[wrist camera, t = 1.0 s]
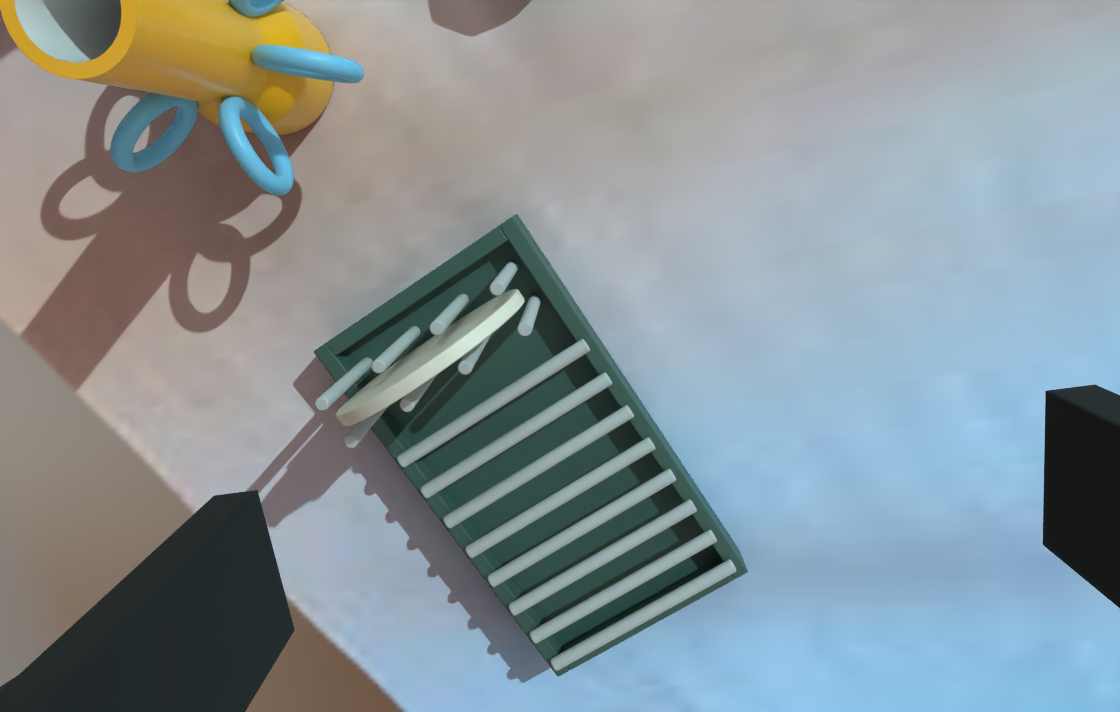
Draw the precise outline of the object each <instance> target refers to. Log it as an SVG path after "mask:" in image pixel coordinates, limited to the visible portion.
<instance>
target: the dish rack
mask: <svg viewBox="0 0 1120 712" xmlns="http://www.w3.org/2000/svg"><path fill="white" fill-rule="evenodd" d="M314 353H315V354H316V356H317V357H318V358H319V360H320V361H321V362H322V364H323V365H324V366H325V368H326V369H327V370H328V372H329V373H330V374H331V376H332V377H333V378H334V380H335V381H336V383H335V384H334V385H332V386H331V387H330V388H329V389H328V390H327V391H325V392H324V393H323V394H322V395H321V396H320V397H319V398H317V399H316V401H315V406H316V408H317V409H318V410H321V411H324V410H327V409H328V408H329V407H330V406H331V405H332V404H333V403H334V402H335V401H336V400H337V399H338V398H339V397H341V396H342V395H343V394H344V393H345V394H346V396H347V397H348V398H349V400H348V401H347V402H346V403H345V404H344V405H343V406H342V407H341V408H340V409H339V410H338V411H337V413H336V417H337V418H338V420H339V421H340V422H341V424H342V425H343V426H350V425H353V424H356V423H357V424H356V425H355V426H354V428H353V429H352V430H351V431H350V432H349V433H348V434H347V435H346V437H345V438H344V444H345V446H346V447H348V448H354V447H356V445H357V444H358V443H359V442H360V441H361V439H362V438H363V437H364V436H365V434H366V433H367V432H368V431H369V430H370V428H371V429H372V430H373V431H374V433H375V434H376V435H377V437H378V438H379V439H380V441H381V442H382V443H383V445H384V446H385V447H386V449H387V450H388V451H389V453H390V454H391V455H392V457H393V458H394V459H395V461H396V462H397V463H398V465H399V466H400V467H401V469H402V470H403V471H404V473H405V474H406V475H407V477H408V478H409V479H410V481H411V482H412V483H413V485H414V486H415V487H416V489H417V490H418V491H419V493H420V494H421V495H422V497H423V498H424V499H425V501H426V502H427V503H428V505H429V506H430V507H431V509H432V510H433V511H434V513H435V514H436V515H437V517H438V518H439V519H440V521H441V522H442V523H443V525H444V526H445V527H446V529H447V530H448V531H449V533H450V534H451V535H452V536H453V538H454V539H455V540H456V542H457V543H458V544H459V546H460V547H461V548H462V550H463V551H464V552H465V554H466V555H467V556H468V558H469V559H470V560H471V562H472V563H473V564H474V566H475V567H476V568H477V570H478V571H479V572H480V574H481V575H482V576H483V578H484V579H485V580H486V582H487V583H488V584H489V586H490V587H491V588H492V590H493V591H494V592H495V594H496V595H497V596H498V598H499V599H500V600H501V602H502V603H503V604H504V606H505V607H506V608H507V610H508V611H509V612H510V614H511V615H512V616H513V618H514V619H515V620H516V622H517V623H518V624H519V626H520V627H521V628H522V630H523V631H524V632H525V634H526V635H527V636H528V638H529V639H530V640H531V642H532V643H533V644H534V646H535V647H536V648H537V650H538V651H539V652H540V653H541V655H542V656H543V657H544V659H545V660H546V661H547V663H548V664H549V665H550V667H551V668H552V669H553V671H554V672H555V673H556V675H557V676H560V675H562V674H564V673H566V672H568V671H569V669H570V670H571V669H573V668H575V667H577V666H579V665H580V664H582V663H584V662H586V661H588V660H589V659H591V658H593V657H595V656H597V655H599V654H600V653H602V652H604V651H606V650H608V649H609V648H611V647H613V646H615V645H617V644H618V643H620V642H622V641H624V640H626V639H627V638H629V637H631V636H633V635H635V634H637V633H638V632H640V631H642V630H644V629H646V628H647V627H649V626H651V625H653V624H655V623H656V622H658V621H660V620H662V619H664V618H665V617H667V616H669V615H671V614H673V613H675V612H676V611H678V610H680V609H682V608H684V607H685V606H687V605H689V604H691V603H693V602H694V601H696V600H698V599H700V598H702V597H703V596H705V595H707V594H709V593H711V592H713V591H714V590H716V589H718V588H720V587H722V586H723V585H725V584H727V583H729V582H731V581H732V580H734V578H735V579H736V578H738V577H740V576H741V575H743V574H745V573H747V572H748V571H747V568H746V566H745V563H744V561H743V558H742V556H741V553H740V551H739V549H738V547H737V546H736V544H735V543H734V541H733V540H732V538H731V537H730V535H729V534H728V532H727V531H726V529H725V528H724V526H723V525H722V523H721V522H720V520H719V519H718V517H717V516H716V514H715V513H714V511H713V510H712V508H711V507H710V505H709V504H708V502H707V501H706V499H705V497H704V496H703V494H702V493H701V491H700V490H699V488H698V487H697V485H696V484H695V482H694V481H693V479H692V478H691V476H690V475H689V473H688V472H687V470H686V469H685V467H684V466H683V464H682V463H681V461H680V460H679V458H678V457H677V455H676V454H675V452H674V451H673V449H672V448H671V446H670V445H669V443H668V442H667V440H666V439H665V437H664V435H663V434H662V432H661V431H660V429H659V428H658V426H657V425H656V423H655V422H654V420H653V419H652V417H651V416H650V414H649V413H648V411H647V410H646V408H645V407H644V405H643V404H642V402H641V401H640V399H639V398H638V396H637V395H636V393H635V392H634V390H633V389H632V387H631V386H630V384H629V383H628V381H627V380H626V378H625V377H624V375H623V374H622V372H621V370H620V369H619V367H618V366H617V364H616V363H615V361H614V360H613V358H612V357H611V355H610V354H609V352H608V351H607V349H606V348H605V346H604V345H603V343H602V342H601V340H600V339H599V337H598V336H597V334H596V333H595V331H594V330H593V328H592V327H591V325H590V324H589V322H588V321H587V319H586V318H585V316H584V315H583V313H582V312H581V310H580V308H579V307H578V305H577V304H576V302H575V301H574V299H573V298H572V296H571V295H570V293H569V292H568V290H567V289H566V287H565V286H564V284H563V283H562V281H561V280H560V278H559V277H558V275H557V274H556V272H555V271H554V269H553V268H552V266H551V265H550V263H549V262H548V260H547V259H546V257H545V256H544V254H543V253H542V251H541V250H540V248H539V246H538V245H537V243H536V242H535V240H534V239H533V237H532V236H531V234H530V233H529V231H528V230H527V228H526V227H525V225H524V224H523V222H522V221H521V219H520V218H519V216H518V215H517V214H516V215H514V216H513V217H511V218H510V219H508V220H507V221H506V222H504V223H503V224H501V225H500V226H498V227H497V228H495V229H494V230H492V231H491V232H489V233H488V234H486V235H485V236H483V237H482V238H480V239H479V240H477V241H476V242H474V243H473V244H472V245H470V246H469V247H467V248H466V249H464V250H463V251H461V252H460V253H458V254H457V255H455V256H454V257H452V258H451V259H449V260H448V261H446V262H445V263H443V264H442V265H441V266H439V267H438V268H436V269H435V270H433V271H432V272H430V273H429V274H427V275H426V276H424V277H423V278H421V279H420V280H418V281H417V282H415V283H414V284H412V285H411V286H409V287H408V288H407V289H405V290H404V291H402V292H401V293H399V294H398V295H396V296H395V297H393V298H392V299H390V300H389V301H387V302H386V303H384V304H383V305H381V306H380V307H378V308H377V309H376V310H374V311H373V312H371V313H370V314H368V315H367V316H365V317H364V318H362V319H361V320H359V321H358V322H356V323H355V324H353V325H352V326H350V327H349V328H347V329H346V330H345V331H343V332H342V333H340V334H339V335H337V336H336V337H334V338H333V339H331V340H330V341H328V342H327V343H325V344H324V345H322V346H321V347H319V348H318V349H316V350H315V351H314Z"/></svg>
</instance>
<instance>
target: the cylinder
mask: <svg viewBox="0 0 1120 712" xmlns="http://www.w3.org/2000/svg"><path fill="white" fill-rule="evenodd" d="M282 1H283V0H0V9H1V14H2V17H3V20H4V23H5V25H6V28H7V30H8V32H9V34H10V35H11V37H12V39H13V40H14V42H15V43H16V45H17V46H18V47H19V49H20V50H21V51H22V52H23V53H24V54H25V55H26V56H27V57H28V58H29V59H30V60H31V61H32V62H34V63H35V64H36V65H38V66H39V67H41V68H43V69H44V70H46V71H48V72H50V73H53V74H55V75H58V76H61V77H66V78H71V79H77V80H83V81H88V82H94V83H100V84H105V85H111V86H117V87H122V88H128V89H134V90H139V91H145V92H150V93H151V94H149V95H148V96H146V97H145V98H143V99H142V100H141V101H140V102H138V103H137V104H136V105H135V106H134V107H133V108H132V109H131V110H130V111H129V112H128V113H127V114H126V116H125V117H124V118H123V120H122V121H121V122H120V124H119V125H118V127H117V129H116V131H115V133H114V135H113V138H112V141H111V147H110V153H111V158H112V160H113V162H114V163H115V165H116V166H117V167H119V168H120V169H122V170H124V171H127V172H141V171H145V170H148V169H150V168H152V167H154V166H156V165H158V164H159V163H161V162H162V161H164V160H165V159H166V158H168V157H169V156H170V155H171V154H172V153H173V152H174V151H175V150H176V149H177V148H178V147H179V146H180V145H181V144H182V143H183V142H184V140H185V139H186V138H187V136H188V135H189V133H190V132H191V130H192V128H193V126H194V124H195V121H196V119H197V115H198V113H199V114H200V115H202V116H203V117H204V118H206V119H207V120H209V121H210V122H212V123H214V124H216V125H218V126H220V127H221V130H222V133H223V136H224V138H225V140H226V143H227V145H228V147H229V148H230V150H231V152H232V154H233V155H234V157H235V159H236V160H237V162H238V163H239V165H240V166H241V167H242V169H243V170H244V171H245V172H246V174H247V175H248V176H249V177H250V178H251V179H252V180H253V181H254V182H255V183H256V184H257V185H258V186H259V187H261V188H262V189H263V190H265V191H266V192H268V193H271V194H274V195H284V194H286V193H288V192H289V191H290V190H291V188H292V186H293V183H294V173H293V168H292V164H291V161H290V158H289V156H288V153H287V151H286V149H285V147H284V145H283V143H282V141H281V139H280V137H279V136H278V135H285V134H291V133H294V132H297V131H300V130H302V129H304V128H306V127H307V126H309V125H310V124H312V123H313V122H314V121H315V120H316V119H317V118H318V117H319V116H320V115H321V114H322V112H323V111H324V109H325V108H326V106H327V104H328V102H329V99H330V97H331V94H332V90H333V86H334V82H341V83H358V82H360V81H361V80H362V79H363V76H364V70H363V68H362V66H361V65H360V64H358V63H357V62H355V61H352V60H350V59H346V58H343V57H339V56H335V55H331V52H330V49H329V47H328V44H327V42H326V40H325V39H324V37H323V35H322V34H321V32H320V31H319V29H318V28H317V27H316V26H315V25H314V24H313V23H312V22H311V21H310V20H309V19H308V18H307V17H306V16H304V15H303V14H301V13H300V12H298V11H297V10H295V9H293V8H292V7H290V6H288V5H286V4H284V3H283V2H282ZM176 106H178V110H177V113H176V116H175V118H174V120H173V121H172V123H171V125H170V126H169V127H168V129H167V130H166V131H165V132H164V133H163V134H162V136H161V137H159V138H158V139H157V140H156V141H155V142H154V143H153V144H151V145H150V146H148V147H147V148H145V149H143V150H141V151H139V152H136V153H133V149H134V146H135V144H136V142H137V140H138V138H139V136H140V135H141V134H142V132H143V131H144V130H145V128H146V127H147V126H148V125H149V124H150V123H151V122H152V121H153V120H154V119H155V118H157V117H158V116H159V115H160V114H162V113H163V112H165V111H167V110H168V109H170V108H173V107H176ZM245 132H250V133H255V134H256V135H257V137H258V138H259V140H260V141H261V143H262V144H263V146H264V148H265V150H266V151H267V153H268V155H269V158H270V160H271V162H272V165H273V169H274V173H275V174H274V173H272V172H271V171H270V170H269V169H268V168H267V167H266V166H265V164H264V163H263V162H262V161H261V160H260V158H259V157H258V155H257V154H256V153H255V151H254V149H253V148H252V146H251V144H250V143H249V141H248V139H247V137H246V135H245Z"/></svg>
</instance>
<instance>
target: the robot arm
mask: <svg viewBox="0 0 1120 712" xmlns="http://www.w3.org/2000/svg"><path fill="white" fill-rule="evenodd" d="M1043 545H1044V546H1045V547H1046V548H1048V549H1049V550H1050V551H1051V552H1052V553H1054V554H1055V555H1056V556H1057V557H1058V558H1060V559H1061V560H1062V561H1063V562H1065V563H1066V564H1067V565H1068V566H1069V567H1071V568H1072V569H1073V570H1074V571H1075V572H1077V573H1078V574H1079V575H1080V576H1081V577H1083V578H1084V579H1085V580H1086V581H1088V582H1089V583H1090V584H1091V585H1092V586H1094V587H1095V588H1096V589H1097V590H1098V591H1100V592H1101V593H1102V594H1103V595H1105V596H1106V597H1107V598H1108V599H1109V600H1111V601H1112V602H1113V603H1114V604H1115V605H1117V606H1118V607H1119V608H1120V395H1118V394H1115V393H1113V392H1111V391H1108V390H1106V389H1104V388H1101V387H1099V386H1097V385H1089V386H1081V387H1073V388H1065V389H1057V390H1049V391H1046V406H1045V460H1044V513H1043ZM293 632H294V626H293V622H292V619H291V615H290V611H289V607H288V604H287V600H286V596H285V592H284V588H283V585H282V581H281V577H280V573H279V570H278V566H277V562H276V558H275V555H274V551H273V547H272V543H271V540H270V536H269V532H268V528H267V525H266V521H265V517H264V513H263V509H262V506H261V502H260V498H259V494H258V491H257V490H255V491H247V492H239V493H231V494H224V495H216V496H213V497H212V498H211V499H210V500H209V501H208V502H207V503H206V504H205V505H204V506H203V507H201V508H200V509H199V510H198V511H197V512H196V513H195V514H194V515H193V516H192V517H191V518H189V519H188V520H187V521H186V522H185V523H184V524H183V525H182V526H181V527H180V528H179V529H177V530H176V531H175V532H174V533H173V534H172V535H171V536H170V537H169V538H168V539H167V540H165V541H164V542H163V543H162V544H161V545H160V546H159V547H158V548H157V549H156V550H155V551H153V552H152V553H151V554H150V555H149V556H148V557H147V558H146V559H145V560H144V561H143V562H142V563H140V564H139V565H138V566H137V567H136V568H135V569H134V570H133V571H132V572H131V573H129V574H128V575H127V576H126V577H125V578H124V579H123V580H122V581H121V582H120V583H119V584H118V585H116V586H115V587H114V588H113V589H112V590H111V591H110V592H109V593H108V594H107V595H105V596H104V597H103V598H102V599H101V600H100V601H99V602H98V603H97V604H96V605H95V606H94V607H92V609H90V610H89V611H88V612H87V613H86V614H85V615H84V616H83V617H82V618H80V619H79V620H78V621H77V622H76V623H75V624H74V625H73V626H72V627H71V628H69V629H68V630H67V631H66V632H65V633H64V634H63V635H62V636H61V637H60V638H59V639H58V640H56V641H55V642H54V643H53V644H52V645H51V646H50V647H49V648H48V649H47V650H45V651H44V652H43V653H42V654H41V655H40V656H39V657H38V658H37V659H36V660H35V661H34V662H32V663H31V664H30V665H29V666H28V667H27V668H26V669H25V670H24V671H23V672H22V673H20V674H19V675H18V676H16V677H15V678H13V679H12V680H10V681H9V682H7V683H6V684H4V685H3V686H1V687H0V712H245V711H246V709H247V708H248V706H249V704H250V703H251V701H252V699H253V698H254V696H255V694H256V693H257V691H258V689H259V688H260V686H261V685H262V683H263V681H264V680H265V678H266V676H267V675H268V673H269V671H270V670H271V668H272V666H273V665H274V663H275V661H276V660H277V658H278V656H279V655H280V653H281V652H282V649H283V648H284V647H285V645H286V643H287V641H288V640H289V638H290V636H291V635H292V633H293Z"/></svg>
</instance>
